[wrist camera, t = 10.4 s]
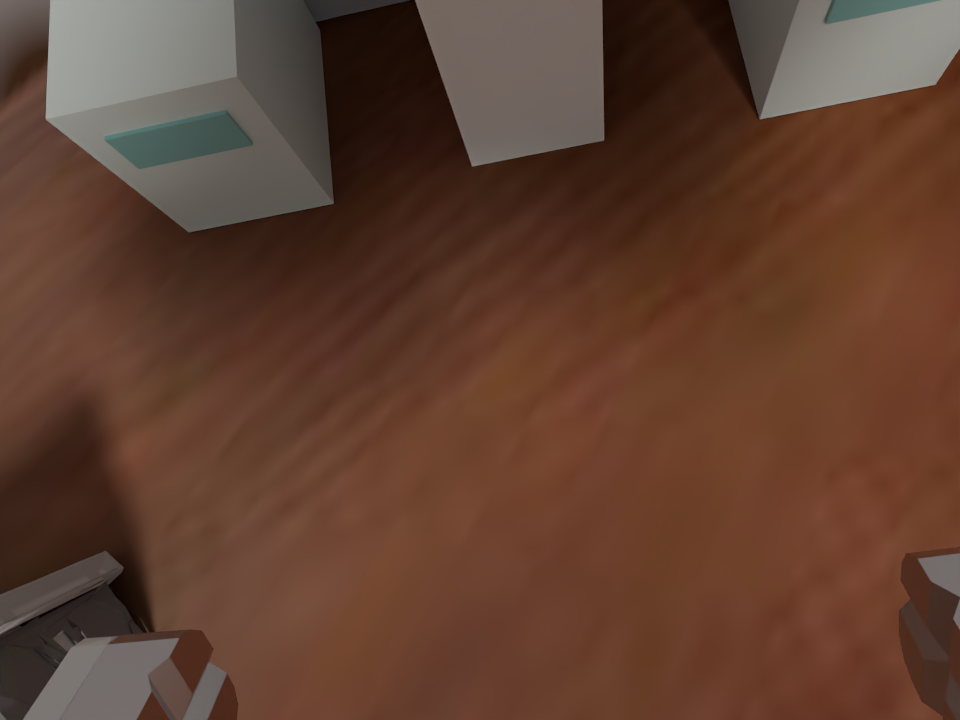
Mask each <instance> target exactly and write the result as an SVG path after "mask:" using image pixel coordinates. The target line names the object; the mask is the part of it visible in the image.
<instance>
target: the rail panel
mask: <svg viewBox="0 0 960 720" xmlns="http://www.w3.org/2000/svg"><path fill="white" fill-rule="evenodd" d="M404 1H409V0H304V2H305V4H306V6H307V7H308V9H309V11H310V13H311V15H312V17H313V18H314V20H315V22H317V21H322V20H326V19H330V18H335V17H339V16H343V15H348V14H352V13H356V12H361V11H365V10H370V9H374V8H378V7H383V6H387V5H391V4H396V3H400V2H404Z"/></svg>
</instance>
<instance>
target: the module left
mask: <svg viewBox="0 0 960 720" xmlns="http://www.w3.org/2000/svg"><path fill="white" fill-rule="evenodd" d="M46 120H47V121H48V122H50V123H51V124H52V125H53V126H55V127H56V128H57V129H59V130H60V131H61V132H62V133H64V134H65V135H66V136H67V137H69V138H70V139H71V140H72V141H74V142H75V143H76V144H78V145H79V146H80V147H81V148H83V149H84V150H85V151H86V152H88V153H89V154H90V155H91V156H93V157H94V158H95V159H96V160H98V161H99V162H100V163H102V164H103V165H104V166H105V167H107V168H108V169H109V170H110V171H112V172H113V173H114V174H115V175H117V176H118V177H119V178H120V179H122V180H123V181H124V182H126V183H127V184H128V185H129V186H131V187H132V188H133V189H134V190H136V191H137V192H138V193H139V194H141V195H142V196H143V197H145V198H146V199H147V200H148V201H150V202H151V203H152V204H153V205H155V206H156V207H157V208H158V209H160V210H161V211H162V212H163V213H165V214H166V215H167V216H169V217H170V218H171V219H172V220H174V221H175V222H176V223H177V224H179V225H180V226H181V227H182V228H184V229H185V230H186V231H188V232H194V231H199V230H204V229H209V228H214V227H219V226H224V225H229V224H234V223H239V222H244V221H249V220H255V219H260V218H265V217H270V216H275V215H280V214H285V213H290V212H295V211H300V210H305V209H310V208H315V207H320V206H325V205H330V204H334V198H333V186H332V173H331V160H330V148H329V135H328V122H327V110H326V97H325V84H324V72H323V59H322V46H321V34H320V30H319V28H318V26H317V24H316V22H315V20H314V18H313V17H312V15H311V13H310V11H309V9H308V7H307V6H306V4H305V2H304V0H51V1H50V25H49V51H48V74H47V99H46Z"/></svg>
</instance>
